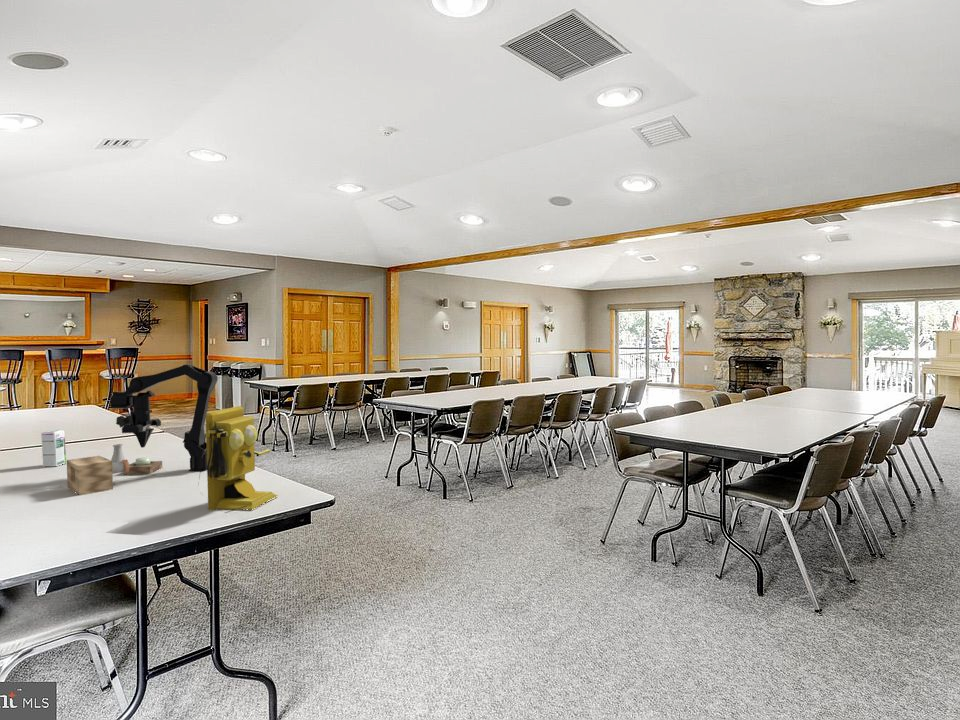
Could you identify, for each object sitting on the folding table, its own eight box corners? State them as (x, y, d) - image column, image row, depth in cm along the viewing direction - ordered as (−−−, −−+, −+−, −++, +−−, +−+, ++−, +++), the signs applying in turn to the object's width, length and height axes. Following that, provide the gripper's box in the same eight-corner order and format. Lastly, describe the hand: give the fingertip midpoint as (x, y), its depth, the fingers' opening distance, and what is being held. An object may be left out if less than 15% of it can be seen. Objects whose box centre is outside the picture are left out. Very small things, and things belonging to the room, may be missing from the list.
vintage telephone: (233, 520, 167) (231, 417, 166) (190, 518, 170) (187, 416, 168) (288, 491, 198) (286, 404, 197) (251, 490, 200) (249, 404, 199)
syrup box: (56, 466, 238) (55, 432, 238) (42, 467, 238) (40, 432, 238) (66, 463, 244) (65, 429, 243) (52, 463, 244) (51, 429, 243)
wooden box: (100, 482, 212) (99, 455, 211) (113, 489, 203) (112, 460, 202) (67, 488, 204) (66, 460, 204) (79, 495, 195) (78, 465, 195)
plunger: (124, 471, 214) (124, 458, 213) (129, 473, 210) (128, 460, 210) (99, 475, 207) (98, 462, 207) (103, 477, 204) (103, 464, 204)
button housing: (162, 468, 235) (162, 460, 234) (150, 474, 225) (149, 466, 224) (136, 468, 234) (136, 461, 234) (123, 474, 224) (123, 466, 224)
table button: (152, 464, 232) (152, 457, 232) (146, 467, 227) (146, 460, 227) (139, 465, 232) (139, 457, 231) (133, 467, 227) (133, 460, 226)
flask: (133, 467, 237) (132, 443, 236) (120, 471, 230) (119, 446, 229) (116, 466, 238) (115, 442, 237) (103, 471, 230) (102, 446, 230)
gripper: (132, 405, 237) (134, 443, 238) (106, 411, 218) (108, 452, 219) (160, 405, 238) (162, 442, 238) (137, 411, 219) (138, 451, 220)
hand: (142, 447), depth 229 cm, fingers closed
